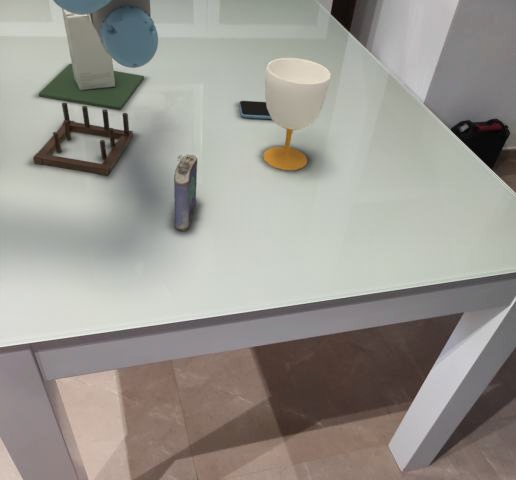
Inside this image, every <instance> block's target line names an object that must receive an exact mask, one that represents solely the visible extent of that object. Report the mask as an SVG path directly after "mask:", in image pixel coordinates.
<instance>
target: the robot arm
mask: <svg viewBox="0 0 516 480" xmlns="http://www.w3.org/2000/svg"><path fill="white" fill-rule="evenodd" d="M52 1H53V2H54V3H55V4H56V5H57V6H58V7H59V8H61V10H62V9H64V10H66V11H68V12H70V13H73V14H77V15H86V14H87V15H88V17H89V19H90V21H91V22H92V24H93V26H94V28H95V30H96V31H97V33H98V35H99V37H100V40H101V43H102V44H103V47H104V48H105V50H106V52H107V53H108V54H110V56H111V57H112V60H114V61H115V62H116V63H117V64H119V65H121V66H123V67H126V68H129V69H135V68H141V67H143V66H145V65H147V64H149V63H150V62H151V61H152V59H153V58H154V57H155V55H156V53H157V51H158V46H159V33H158V30H157V26H156V25H155V21H154V20H153V18H152V17H151V15H152V14H151V0H52Z"/></svg>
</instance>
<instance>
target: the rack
mask: <svg viewBox="0 0 516 480" xmlns="http://www.w3.org/2000/svg"><path fill="white" fill-rule="evenodd" d="M61 109H62V113H63V119H64V120H63V122H62V125H61V126H60V127H59V128H58V130H57V131H54V132H52V136H51V137H50V138H49V140H48V141H47V142H46V143H45V144H44V145H43V147H42V148H41V149H40V150H39V151H38V152H36V153H35V154H34V155H33V157H32V158H33V159H32V160H33V164H37V165H41V166H42V165H46V166H51V167H57V168H62V169H63V168H64V169H69V170H74V171H75V170H76V171H81V172H87V173H92V174H98V175H99V176H106V177H107V176H109V174H110V173H111V172H112V170H113V168H114V166H115V165H116V163H117V162H118V160H119V159H120V157H121V156H122V154H123V152H124V151H125V149H126V148H127V146H128V145H129V143H130V141H132V138H133V137H134V130H130V123H129V114H128V112H123V113H122V124H123V129H118V128H113V127H110V121H109V112H108V109H107V108H106V109H105V108H104V109H102V110H101V112H102V121H103V126H100V125H94V124H90V116H89V110H88V106H87V105H82V106H81V110H82V116H83V122H76V121H75V120H71V118H70V113H69V106H68V102H62V103H61ZM71 132H75V133H81V134H87V135H93V136H99V137H103V138H109V144H110V148H112V149H111V150H110V151H109V153H108V154H107V147H106V141H105V140H104V139H100V140H99V146H100V154H101V160H102V161H103V162H102V163H99V162H95V161H88V160H82V159H75V158H70V157H65V156H58V155H53V153H54V152H55V151H56V153H62V148H61V144H62V143H63V141H64V140H65V139H66V140H67V141H71V140H72V135H71ZM115 139H116V140H117V141H116V140H115Z"/></svg>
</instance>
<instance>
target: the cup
mask: <svg viewBox="0 0 516 480" xmlns="http://www.w3.org/2000/svg"><path fill="white" fill-rule="evenodd" d="M331 76H332V74H331V72H330V71H329V70H328V68H326V67H325V66H324V65H322V64H320V63H317V62H314V61H312V60H310V59H303V58H297V57H281V58H276V59H273V60H272V61H269V62H268V63H267V65H266V68H265V81H264V85H265V86H264V87H265V91H264V92H265V93H264V94H265V97H264V98H265V102H266V106H267V109H268V112H269V114H270V116H271V118H272V119H271V120H272V121H273V122H274V124H276V125H277V126H278V127H281V128H283V129H285V130H286V132H285V142H284V146H274V147H270V148H267V150H265V151H264V153H263V156H262V158H263V160H264V162H265V163H267V164H268V166H270V167H272V168H275V169H278V170H283V171H298V170H301V169H303V168H304V167H305V166H307V163H308V159H307V157H306V155H305V154H304V153H303V152H301V151H300V150H297V149H295V148H293V147H292V148H291V141H292V140H291V139H292V136H293V132H294V131H298V130H303V129H306V128H308V127H309V126H311V125H312V124H313V123H314V122H315V121H316V120H317V119H318V118H319V115H320V113H321V111H322V109H323V107H324V103H325V100H326V96H327V93H328V89H329V85H330V81H331Z"/></svg>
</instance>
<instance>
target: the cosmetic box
mask: <svg viewBox="0 0 516 480" xmlns="http://www.w3.org/2000/svg"><path fill="white" fill-rule="evenodd" d="M61 11H62V17H63V23H64V29H65V35H66V39H67V44H68V50H69V56H70V61H71V62H70V63H71V64H72V68H73V73H74V79H75V81H76V83H77V85H78V87H79V89H80V90H87V89H97V88H107V87H115V78H114V71H115V70H114V64H113V62H114V61H113V58H112V57H111V56H110V54H108V53H107V52H106V50H105V48H104V47H103V44H102V43H101V40H100V37H99V35H98V33H97V31H96V30H95V28H94V26H93V24H92V22H91V21H90V19H89V17H88V15H87V14H86V15H77V14H73V13H70V12H68V11H66V10H64V9H62V8H61Z"/></svg>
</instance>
